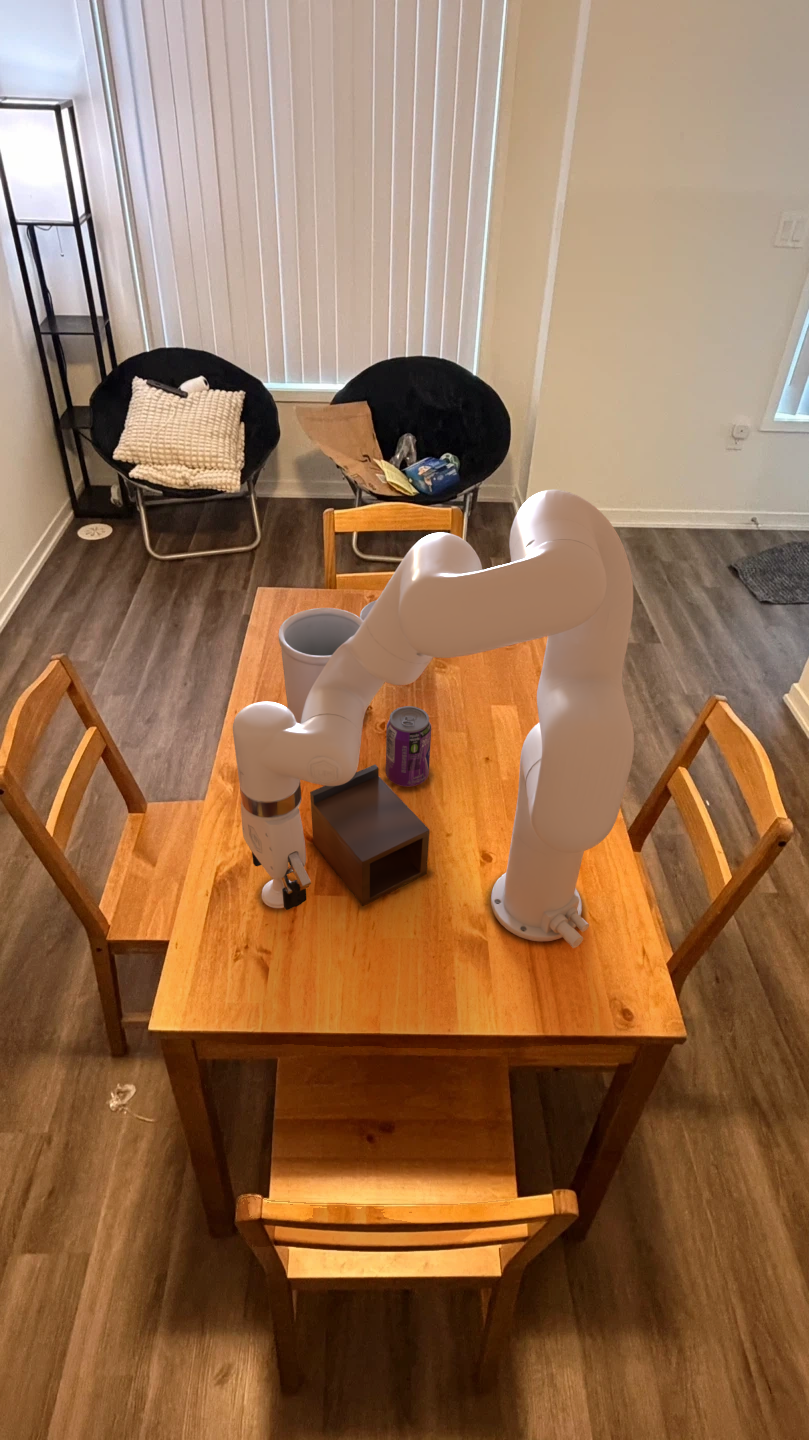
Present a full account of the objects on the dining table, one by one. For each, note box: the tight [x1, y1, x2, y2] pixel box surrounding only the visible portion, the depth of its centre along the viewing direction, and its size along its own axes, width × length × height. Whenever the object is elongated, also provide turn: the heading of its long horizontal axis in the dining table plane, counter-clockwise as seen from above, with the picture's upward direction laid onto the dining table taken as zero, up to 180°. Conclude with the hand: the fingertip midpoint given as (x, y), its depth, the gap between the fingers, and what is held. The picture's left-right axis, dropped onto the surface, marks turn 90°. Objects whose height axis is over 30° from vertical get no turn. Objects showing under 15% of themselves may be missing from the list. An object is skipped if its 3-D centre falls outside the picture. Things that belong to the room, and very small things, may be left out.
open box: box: [309, 764, 430, 907], centre depth 122 cm, size 14×11×11 cm
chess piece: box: [261, 878, 292, 909], centre depth 117 cm, size 5×5×10 cm
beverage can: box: [385, 705, 432, 787], centre depth 136 cm, size 7×7×12 cm
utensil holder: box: [277, 607, 366, 724], centre depth 147 cm, size 15×15×18 cm
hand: (279, 882), depth 118 cm, fingers open, 8 cm apart
